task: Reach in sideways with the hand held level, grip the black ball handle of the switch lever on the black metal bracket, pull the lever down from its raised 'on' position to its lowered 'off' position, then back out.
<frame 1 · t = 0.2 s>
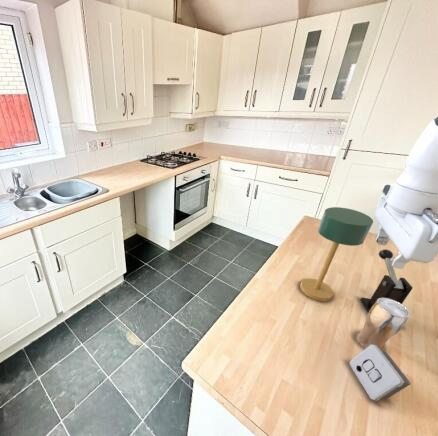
hand: (387, 254, 56), 32 cm above the counter, tool pointing down, fingers open, 8 cm apart
electrical switch: (369, 381, 62), on the counter
beer glass: (368, 343, 71), on the counter
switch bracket: (378, 312, 80), on the counter
switch lever: (390, 269, 78), point 14 cm above the counter, hinge at 25.0°
desk lamp: (315, 290, 89), on the counter
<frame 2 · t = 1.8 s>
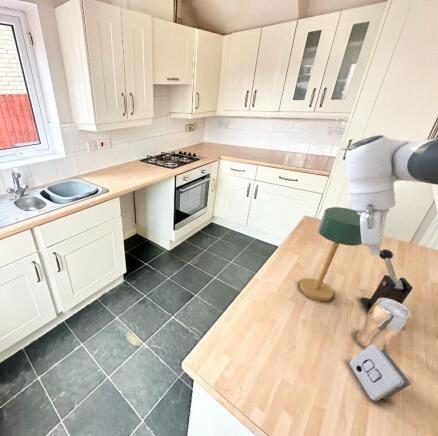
hand: (376, 249, 66), 27 cm above the counter, tool tilted 25°, fingers open, 5 cm apart
nothing on the counter moved.
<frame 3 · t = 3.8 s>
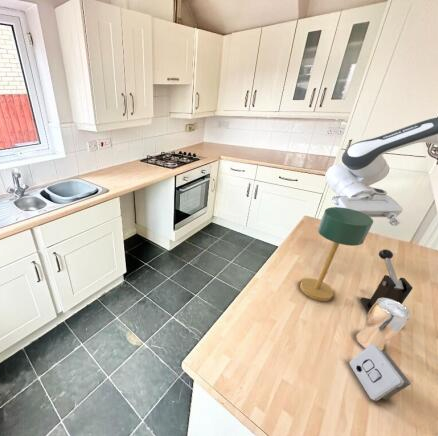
hand: (382, 224, 80), 26 cm above the counter, tool tilted 70°, fingers open, 8 cm apart
nothing on the counter moved.
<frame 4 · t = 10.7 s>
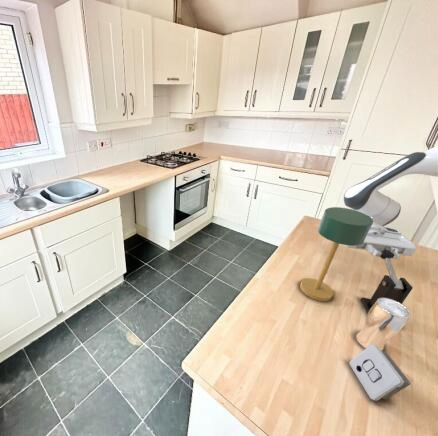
hand: (387, 256, 80), 17 cm above the counter, tool horizontal, fingers closed on switch lever, 3 cm apart
switch lever: (390, 269, 78), point 14 cm above the counter, hinge at 25.0°, touching gripper
everything else where it was.
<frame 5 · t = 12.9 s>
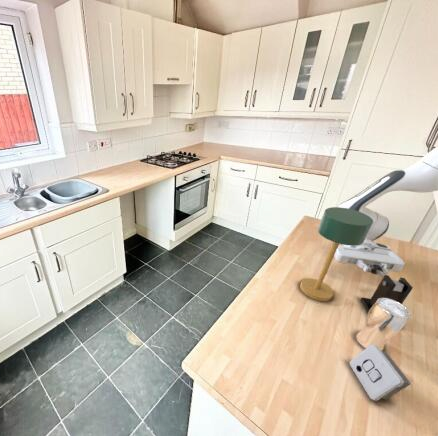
hand: (376, 271, 84), 9 cm above the counter, tool horizontal, fingers closed on switch lever, 3 cm apart
switch lever: (384, 276, 80), point 11 cm above the counter, hinge at -12.5°, touching gripper
everything else where it was.
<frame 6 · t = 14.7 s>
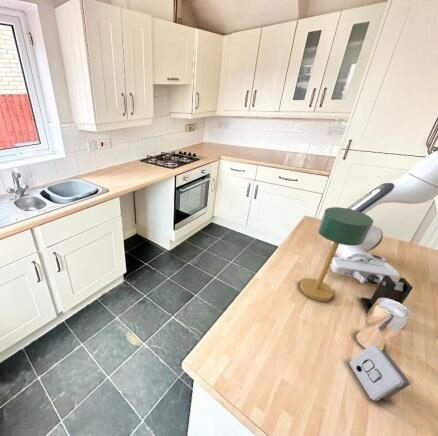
hand: (373, 283, 85), 5 cm above the counter, tool horizontal, fingers closed on switch lever, 3 cm apart
switch lever: (383, 282, 80), point 9 cm above the counter, hinge at -32.4°, touching gripper
everything else where it was.
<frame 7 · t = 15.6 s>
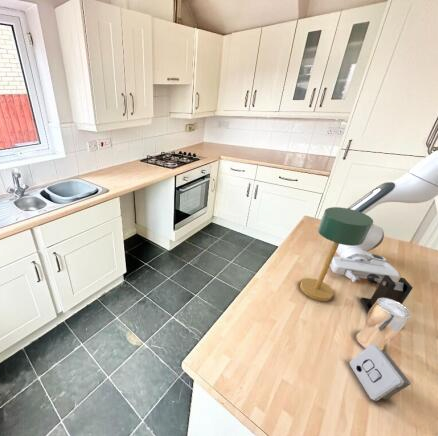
hand: (372, 283, 86), 5 cm above the counter, tool horizontal, fingers open, 8 cm apart
switch lever: (383, 281, 80), point 9 cm above the counter, hinge at -30.5°
everything else where it was.
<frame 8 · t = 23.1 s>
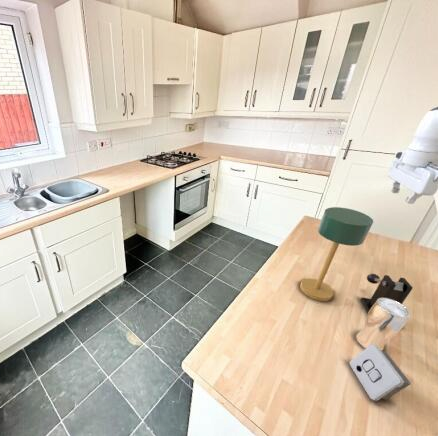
hand: (401, 197, 86), 31 cm above the counter, tool pointing down, fingers open, 8 cm apart
nothing on the counter moved.
at the end: switch lever at -30° (first picture: +25°); beer glass moved 0.2 cm from its start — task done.
